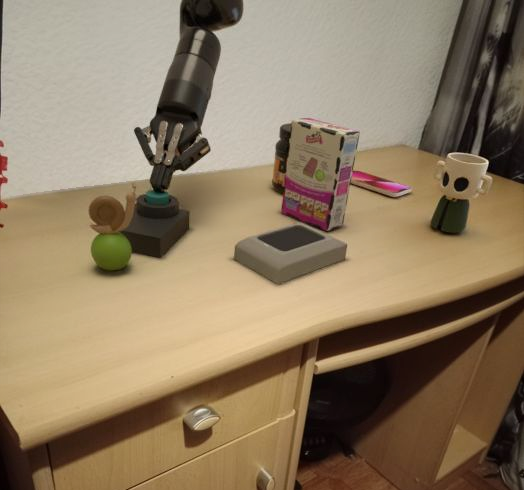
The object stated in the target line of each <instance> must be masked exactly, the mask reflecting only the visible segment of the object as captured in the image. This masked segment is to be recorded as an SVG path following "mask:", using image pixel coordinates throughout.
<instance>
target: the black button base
mask: <svg viewBox="0 0 524 490" xmlns="http://www.w3.org/2000/svg"><path fill="white" fill-rule="evenodd" d="M124 212H125V210H124ZM190 213H191V212H190V210H187V209H181V208H180V201H179V199H178V197H176V196H174V195H172V194H169V203H168V204H164V205H154V204H149V203H147V202H146V193H143V194H139V195H138V196H137V197H136V202H135V207H134V212H133V217H132V220H131V222H130V224H129V226H128V227H127V228H126V229H124V230H122V231H120V232H119V233H121V234H123V235H124V236H125V237H126V238H127V239H128V240H129V242H130V245H131V248H132V253H136V254H140V255H144V256H145V255H146V256H150V257H155V258H159V259H160V258H162V257H163V256H164V255H165V254H166V253H167V252H168V251H169V250H170V249H171V248H172V247H173V246H175V244H176V243H177V242H178V241H179V240H180V239H181V238H182V237H183V236H184V235H185V234H186V233H187V232H188V231H189V230H190V215H191V214H190Z"/></svg>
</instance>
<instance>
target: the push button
mask: <svg viewBox="0 0 524 490" xmlns="http://www.w3.org/2000/svg"><path fill="white" fill-rule="evenodd" d="M145 194H146V202H147V203H149V204H154V205H164V204H168V203H169V195H170V193H169V192H168V191H167V190H165V191H164V193H161V192H155V191H154V190H153V189H150V190H147V191H146V192H145Z"/></svg>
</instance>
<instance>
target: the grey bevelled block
mask: <svg viewBox="0 0 524 490" xmlns="http://www.w3.org/2000/svg"><path fill="white" fill-rule="evenodd" d="M347 250H348V243H347V242H345V241H342V240H340V239H337V238H335V237H333V236H331V235H329V234H327V233H325V232H323V231H320V230H319V229H316V228H314V227H313V226H311V225H309V224H307V223H304V222H302V221H299V222H296V223H292V224H289V225H286V226H283V227H282V226H281V227H279V228H275V229H272V230H268V231H265V232H261V233H258V234H257V233H256V234H254V235H251V236H247V237H245V238H243V239H241V240H239V241H238V242H236V244H234V250H233V251H234V254H233V260H235V261H237V262H238V263H240V264H242V265H243V266H245V267H247V268H249V269H250V270H252V271H253V272H255V273H257V274H259V275H261V276H263V277H265V279H268V280H270V281H271V282H273V283H275V284H276V285H279V284H282V283H285V282H288V281H291V280H293V279H295V278H298V277H301V276H304V275H306V274H309V273H312V272H314V271H316V270H319V269H322V268H325V267H327V266H330V265H333V264H335V263H338V262H342V261H343V260H344V261H345V259H346V255H347Z"/></svg>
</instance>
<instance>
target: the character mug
mask: <svg viewBox="0 0 524 490" xmlns="http://www.w3.org/2000/svg"><path fill="white" fill-rule="evenodd" d="M489 163H490V162H489V160H488V159H486V158H485V157H482V156H479V155H477V154H471V153H466V152H450V153H448V154H447V155H446V158H445V160H444V161H443V160H438V162H437V163H436V166H435V170H434V173H433V178H434V179H435V180H438V181H439V182H438V190H439V192H440V193H441V194H443V195H442V196H441V197H440V198H439V201H438V203H437V205H436V207H435V210H434V211H433V215H432V217H431V219H430V225H431V226H432V227H433V228H434V229H438V226H439V227H440V231H442V232H447V233H455V234H457V233H458V234H459V233H461V232H462V231H464V230H465V229H466V228H467V222H468V218H469V211H470V200H472V199H475V198H477V197H478V196H479V195H481V196H487V195H489V193H490V190H491V187H492V183H493V177H492V176H490V175H488V174H486V173H487V170H488V167H489ZM441 170H442V171H441ZM484 182H485V183H484ZM483 183H484V186H483V188H482V185H483Z"/></svg>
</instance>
